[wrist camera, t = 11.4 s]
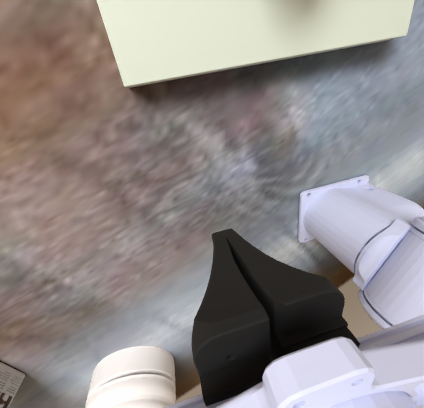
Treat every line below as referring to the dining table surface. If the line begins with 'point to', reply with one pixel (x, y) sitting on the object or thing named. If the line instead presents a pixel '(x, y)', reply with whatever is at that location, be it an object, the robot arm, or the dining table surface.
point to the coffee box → (9, 384)
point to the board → (239, 32)
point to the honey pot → (133, 379)
